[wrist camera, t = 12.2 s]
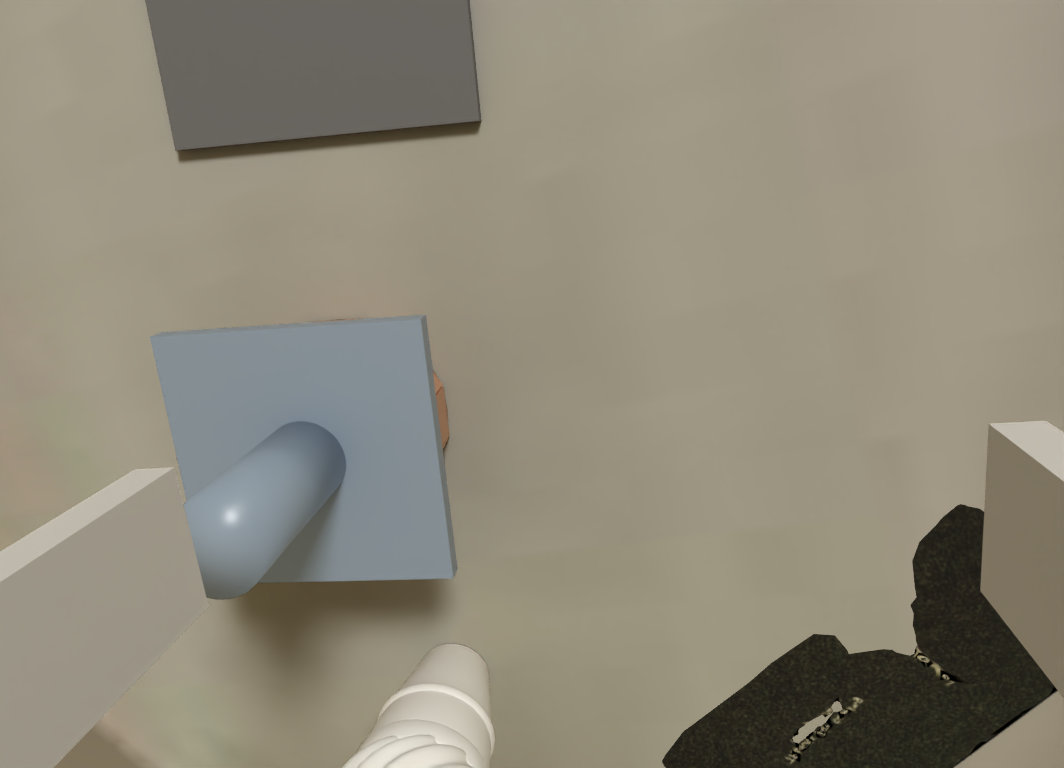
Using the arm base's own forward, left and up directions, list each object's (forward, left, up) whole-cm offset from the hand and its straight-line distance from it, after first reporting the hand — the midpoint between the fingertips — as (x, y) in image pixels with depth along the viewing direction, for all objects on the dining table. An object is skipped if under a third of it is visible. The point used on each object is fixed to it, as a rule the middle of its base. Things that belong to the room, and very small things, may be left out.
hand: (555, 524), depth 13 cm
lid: (+14, +7, -23) cm, 28 cm away
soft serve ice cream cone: (+10, +24, -29) cm, 39 cm away
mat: (+13, -16, -29) cm, 36 cm away
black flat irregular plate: (-14, +25, -30) cm, 41 cm away
